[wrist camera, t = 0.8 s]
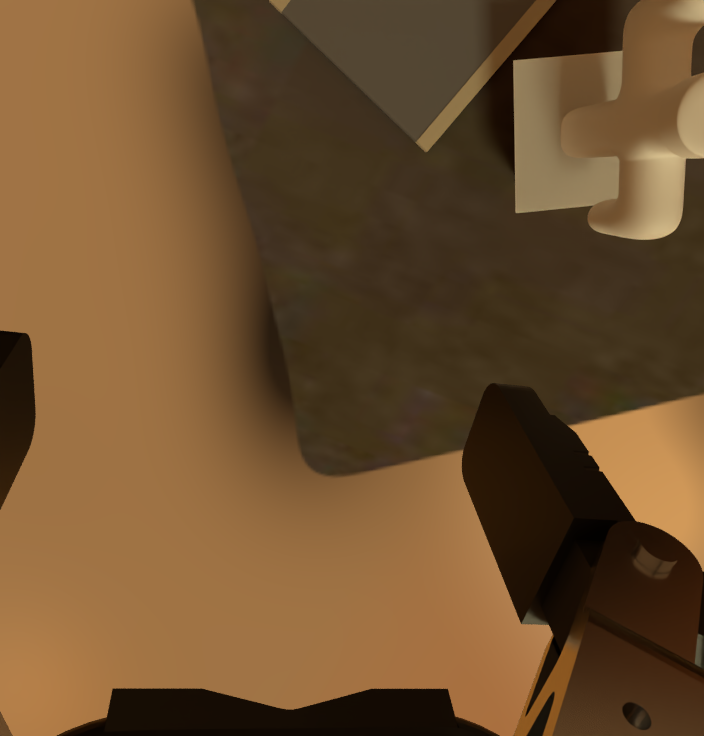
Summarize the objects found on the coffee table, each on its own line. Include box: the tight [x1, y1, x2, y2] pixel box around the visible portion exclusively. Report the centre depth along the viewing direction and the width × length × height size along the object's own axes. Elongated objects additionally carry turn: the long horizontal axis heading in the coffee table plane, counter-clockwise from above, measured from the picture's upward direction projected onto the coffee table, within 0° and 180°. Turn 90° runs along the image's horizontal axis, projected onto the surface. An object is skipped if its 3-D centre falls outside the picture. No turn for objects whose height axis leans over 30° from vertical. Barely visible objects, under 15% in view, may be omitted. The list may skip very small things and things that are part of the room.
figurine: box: [513, 0, 704, 240], centre depth 29 cm, size 7×9×15 cm
